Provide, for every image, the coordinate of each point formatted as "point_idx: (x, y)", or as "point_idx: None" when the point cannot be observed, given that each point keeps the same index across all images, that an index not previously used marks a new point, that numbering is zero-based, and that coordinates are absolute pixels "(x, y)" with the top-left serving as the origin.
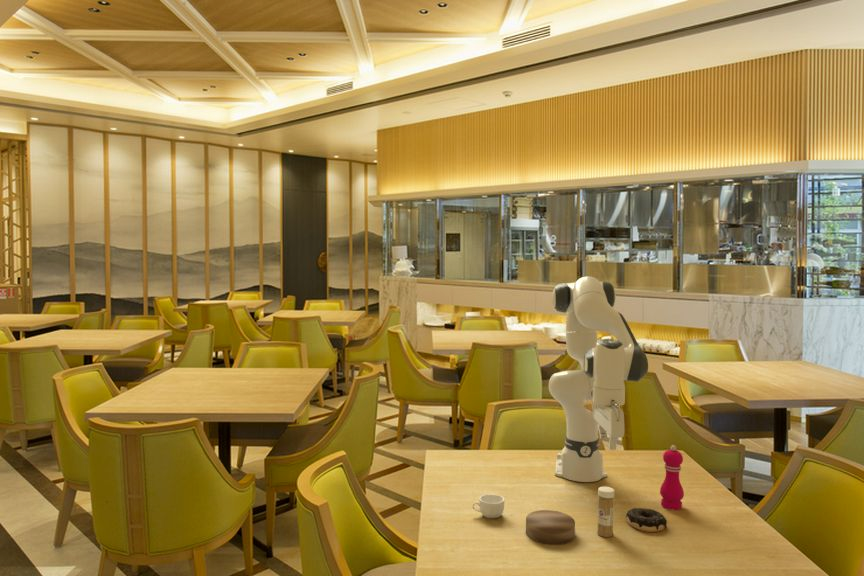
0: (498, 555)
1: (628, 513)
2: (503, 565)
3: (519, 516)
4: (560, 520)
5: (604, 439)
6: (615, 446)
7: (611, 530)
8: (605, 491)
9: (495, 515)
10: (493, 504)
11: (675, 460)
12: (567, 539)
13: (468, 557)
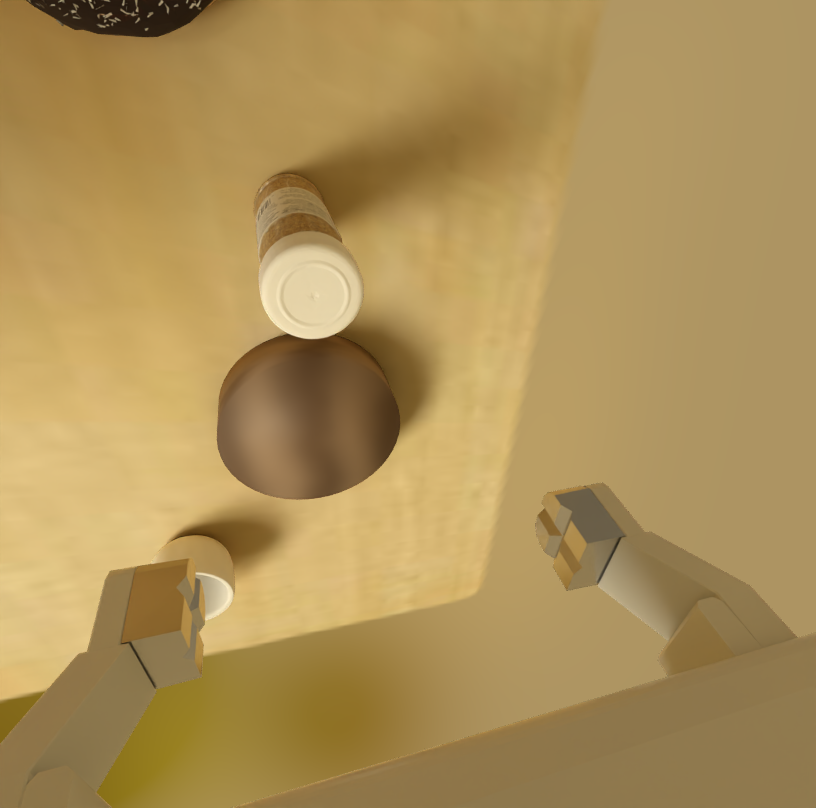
0: (442, 508)
1: (102, 24)
2: (488, 495)
3: (177, 488)
4: (313, 406)
5: (195, 574)
6: (621, 509)
7: (316, 193)
8: (355, 308)
9: (227, 550)
10: (233, 586)
11: None
12: (379, 367)
13: (446, 551)
